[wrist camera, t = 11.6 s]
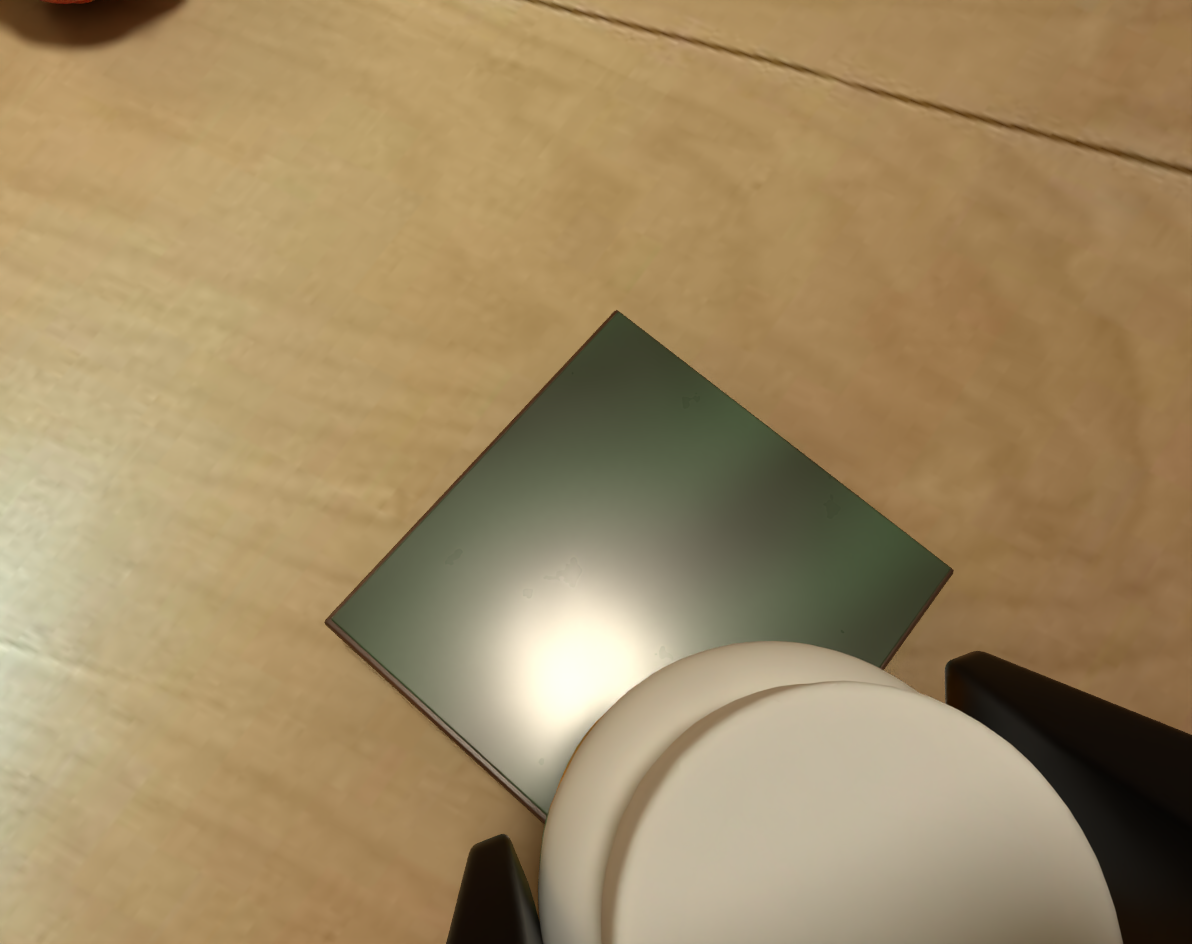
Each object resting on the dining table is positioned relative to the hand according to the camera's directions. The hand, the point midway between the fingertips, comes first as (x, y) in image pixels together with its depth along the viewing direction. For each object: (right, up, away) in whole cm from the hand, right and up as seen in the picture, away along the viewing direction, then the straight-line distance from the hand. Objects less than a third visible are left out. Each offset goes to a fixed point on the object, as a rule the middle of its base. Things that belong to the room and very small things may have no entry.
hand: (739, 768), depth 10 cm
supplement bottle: (0, -3, +6) cm, 7 cm away
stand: (0, 0, +14) cm, 14 cm away
